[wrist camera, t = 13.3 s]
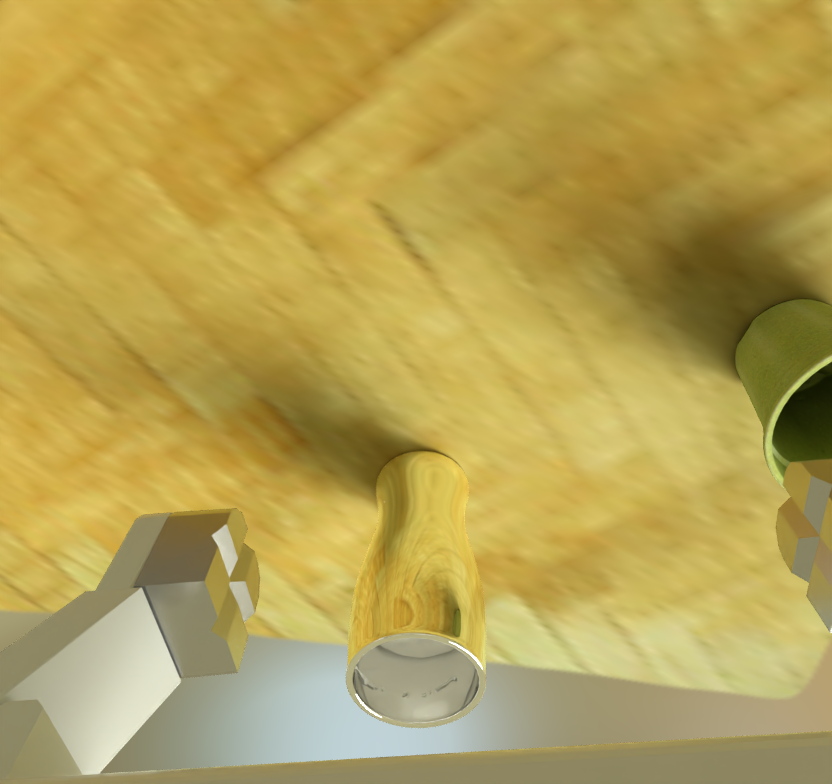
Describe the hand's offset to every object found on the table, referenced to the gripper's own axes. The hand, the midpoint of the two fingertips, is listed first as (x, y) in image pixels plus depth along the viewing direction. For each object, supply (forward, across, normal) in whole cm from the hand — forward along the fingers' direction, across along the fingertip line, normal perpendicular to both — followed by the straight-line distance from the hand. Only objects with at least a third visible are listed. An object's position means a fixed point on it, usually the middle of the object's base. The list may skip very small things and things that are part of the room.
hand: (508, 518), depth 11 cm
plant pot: (+28, -18, +13) cm, 36 cm away
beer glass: (+28, +4, +21) cm, 35 cm away
